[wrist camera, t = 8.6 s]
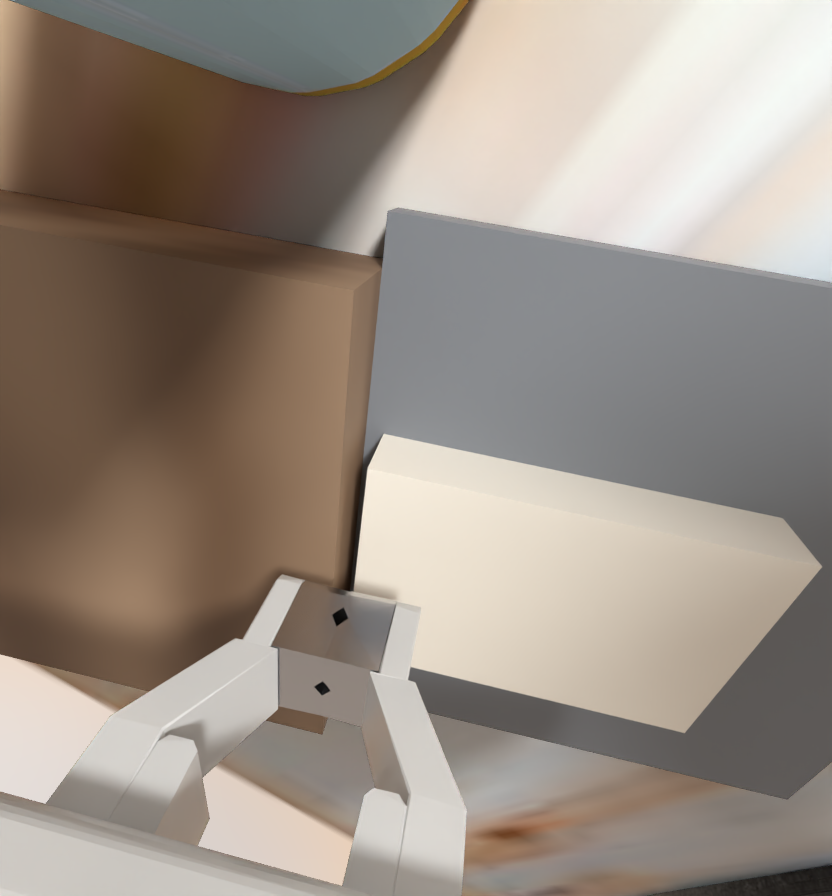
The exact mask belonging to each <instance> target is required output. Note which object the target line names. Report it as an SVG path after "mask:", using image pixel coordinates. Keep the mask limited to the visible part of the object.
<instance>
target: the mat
mask: <svg viewBox="0 0 832 896" xmlns="http://www.w3.org/2000/svg"><path fill="white" fill-rule="evenodd" d="M383 434H387V435H392V436H396V437H401V438H406V439H411V440H415V441H420V442H425V443H429V444H434V445H439V446H444V447H448V448H453V449H458V450H463V451H467V452H472V453H477V454H482V455H486V456H491V457H496V458H500V459H505V460H510V461H515V462H519V463H524V464H529V465H534V466H538V467H543V468H548V469H553V470H557V471H562V472H567V473H571V474H576V475H581V476H586V477H590V478H595V479H600V480H605V481H609V482H614V483H619V484H624V485H628V486H633V487H638V488H643V489H647V490H652V491H657V492H661V493H666V494H671V495H676V496H680V497H685V498H690V499H695V500H699V501H704V502H709V503H714V504H718V505H723V506H728V507H732V508H737V509H742V510H747V511H751V512H756V513H761V514H766V515H770V516H775V517H780V518H783V519H784V520H785V521H786V523H787V524H788V525H789V526H790V528H791V529H792V530H793V531H794V532H795V534H796V535H797V536H798V537H799V539H800V540H801V541H802V542H803V544H804V545H805V546H806V547H807V548H808V550H809V551H810V552H811V553H812V555H813V556H814V557H815V558H816V560H817V561H818V562H819V563H820V564H821V566H822V568H821V569H820V570H819V571H818V573H817V574H816V575H815V576H814V577H813V579H812V580H811V581H810V582H809V583H808V585H807V586H806V587H805V588H804V589H803V591H802V592H801V593H800V594H799V596H798V597H797V598H796V599H795V600H794V602H793V603H792V604H791V605H790V606H789V608H788V609H787V610H786V611H785V612H784V614H783V615H782V616H781V617H780V618H779V620H778V621H777V622H776V623H775V625H774V626H773V627H772V628H771V629H770V631H769V632H768V633H767V634H766V635H765V637H764V638H763V639H762V640H761V641H760V643H759V644H758V645H757V646H756V647H755V649H754V650H753V651H752V652H751V654H750V655H749V656H748V657H747V658H746V660H745V661H744V662H743V663H742V664H741V666H740V667H739V668H738V669H737V670H736V672H735V673H734V674H733V675H732V676H731V678H730V679H729V680H728V681H727V683H726V684H725V685H724V686H723V687H722V689H721V690H720V691H719V692H718V693H717V695H716V696H715V697H714V698H713V699H712V701H711V702H710V703H709V704H708V705H707V707H706V708H705V709H704V710H703V711H702V713H701V714H700V715H699V716H698V718H697V719H696V720H695V721H694V722H693V724H692V725H691V726H690V727H689V728H688V730H687V731H686V732H685V733H682V732H678V731H674V730H670V729H666V728H662V727H658V726H653V725H649V724H645V723H641V722H637V721H633V720H629V719H624V718H620V717H616V716H612V715H608V714H604V713H600V712H595V711H591V710H587V709H583V708H579V707H575V706H570V705H566V704H562V703H558V702H554V701H550V700H546V699H541V698H537V697H533V696H529V695H525V694H521V693H517V692H512V691H508V690H504V689H500V688H496V687H492V686H488V685H483V684H479V683H475V682H471V681H467V680H463V679H459V678H454V677H450V676H446V675H442V674H438V673H434V672H429V671H425V670H421V669H417V668H413V667H410V672H409V677H408V680H409V681H412V682H415V683H416V686H417V688H418V690H419V693H420V695H421V698H422V700H423V703H424V705H425V708H426V710H427V712H428V713H432V714H437V715H441V716H445V717H449V718H453V719H457V720H461V721H465V722H470V723H474V724H478V725H482V726H486V727H490V728H494V729H498V730H503V731H507V732H511V733H515V734H519V735H523V736H527V737H531V738H536V739H540V740H544V741H548V742H552V743H556V744H560V745H565V746H569V747H573V748H577V749H581V750H585V751H589V752H593V753H598V754H602V755H606V756H610V757H614V758H618V759H622V760H626V761H631V762H635V763H639V764H643V765H647V766H651V767H655V768H659V769H664V770H668V771H672V772H676V773H680V774H684V775H688V776H692V777H697V778H701V779H705V780H709V781H713V782H717V783H721V784H725V785H730V786H734V787H738V788H742V789H746V790H750V791H754V792H758V793H763V794H767V795H771V796H775V797H779V798H783V799H788V798H790V797H791V796H792V795H793V794H794V793H795V792H797V791H798V790H799V789H800V788H801V787H803V786H804V785H805V784H806V783H807V782H808V781H810V780H811V779H812V778H813V777H814V776H816V775H817V774H818V773H819V772H820V771H821V770H823V769H824V768H825V767H826V766H827V765H829V764H830V763H831V762H832V283H830V282H825V281H819V280H813V279H807V278H801V277H796V276H790V275H784V274H778V273H772V272H767V271H761V270H755V269H749V268H744V267H738V266H732V265H726V264H720V263H715V262H709V261H703V260H697V259H692V258H686V257H680V256H674V255H668V254H663V253H657V252H651V251H645V250H640V249H634V248H628V247H622V246H616V245H611V244H605V243H599V242H593V241H587V240H582V239H576V238H570V237H564V236H559V235H553V234H547V233H541V232H535V231H530V230H524V229H518V228H512V227H507V226H501V225H495V224H489V223H483V222H478V221H472V220H466V219H460V218H454V217H449V216H443V215H437V214H431V213H426V212H420V211H414V210H408V209H402V208H396V209H393V210H390V211H388V213H387V223H386V233H385V244H384V254H383V264H382V274H381V284H380V294H379V304H378V314H377V324H376V334H375V345H374V355H373V365H372V375H371V385H370V395H369V405H368V415H367V425H366V435H365V446H364V456H363V466H362V476H361V486H360V496H359V506H358V516H357V526H356V536H355V547H354V557H353V567H352V577H351V587H350V592H351V591H353V592H354V583H355V574H356V565H357V557H358V548H359V539H360V531H361V522H362V513H363V504H364V496H365V487H366V478H367V469H368V466H369V464H370V462H371V460H372V458H373V456H374V453H375V451H376V449H377V447H378V445H379V443H380V440H381V438H382V436H383Z"/></svg>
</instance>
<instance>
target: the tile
mask: <svg viewBox="0 0 832 896" xmlns="http://www.w3.org/2000/svg"><path fill="white" fill-rule="evenodd" d="M821 568H822V566H821V564H820V563H819V562H818V561H817V560H816V558H815V557H814V556H813V555H812V553H811V552H810V551H809V550H808V548H807V547H806V546H805V545H804V544H803V542H802V541H801V540H800V539H799V537H798V536H797V535H796V534H795V532H794V531H793V530H792V529H791V528H790V526H789V525H788V524H787V523H786V521H785V520H784V519H783V518H780V517H775V516H770V515H766V514H761V513H756V512H751V511H747V510H742V509H737V508H732V507H728V506H723V505H718V504H714V503H709V502H704V501H699V500H695V499H690V498H685V497H680V496H676V495H671V494H666V493H661V492H657V491H652V490H647V489H643V488H638V487H633V486H628V485H624V484H619V483H614V482H609V481H605V480H600V479H595V478H590V477H586V476H581V475H576V474H571V473H567V472H562V471H557V470H553V469H548V468H543V467H538V466H534V465H529V464H524V463H519V462H515V461H510V460H505V459H500V458H496V457H491V456H486V455H482V454H477V453H472V452H467V451H463V450H458V449H453V448H448V447H444V446H439V445H434V444H429V443H425V442H420V441H415V440H411V439H406V438H401V437H396V436H392V435H387V434H383V436H382V438H381V440H380V443H379V445H378V447H377V449H376V451H375V453H374V456H373V458H372V460H371V462H370V464H369V466H368V469H367V478H366V487H365V496H364V504H363V513H362V522H361V531H360V539H359V548H358V557H357V565H356V574H355V583H354V592H358V593H362V594H367V595H371V596H376V597H380V598H385V599H389V600H394V601H397V602H401V603H405V604H409V605H414V606H418V607H421V614H420V620H419V625H418V630H417V635H416V640H415V646H414V651H413V656H412V661H411V666H410V667H413V668H417V669H421V670H425V671H429V672H434V673H438V674H442V675H446V676H450V677H454V678H459V679H463V680H467V681H471V682H475V683H479V684H483V685H488V686H492V687H496V688H500V689H504V690H508V691H512V692H517V693H521V694H525V695H529V696H533V697H537V698H541V699H546V700H550V701H554V702H558V703H562V704H566V705H570V706H575V707H579V708H583V709H587V710H591V711H595V712H600V713H604V714H608V715H612V716H616V717H620V718H624V719H629V720H633V721H637V722H641V723H645V724H649V725H653V726H658V727H662V728H666V729H670V730H674V731H678V732H682V733H685V732H686V731H687V730H688V728H689V727H690V726H691V725H692V724H693V722H694V721H695V720H696V719H697V718H698V716H699V715H700V714H701V713H702V711H703V710H704V709H705V708H706V707H707V705H708V704H709V703H710V702H711V701H712V699H713V698H714V697H715V696H716V695H717V693H718V692H719V691H720V690H721V689H722V687H723V686H724V685H725V684H726V683H727V681H728V680H729V679H730V678H731V676H732V675H733V674H734V673H735V672H736V670H737V669H738V668H739V667H740V666H741V664H742V663H743V662H744V661H745V660H746V658H747V657H748V656H749V655H750V654H751V652H752V651H753V650H754V649H755V647H756V646H757V645H758V644H759V643H760V641H761V640H762V639H763V638H764V637H765V635H766V634H767V633H768V632H769V631H770V629H771V628H772V627H773V626H774V625H775V623H776V622H777V621H778V620H779V618H780V617H781V616H782V615H783V614H784V612H785V611H786V610H787V609H788V608H789V606H790V605H791V604H792V603H793V602H794V600H795V599H796V598H797V597H798V596H799V594H800V593H801V592H802V591H803V589H804V588H805V587H806V586H807V585H808V583H809V582H810V581H811V580H812V579H813V577H814V576H815V575H816V574H817V573H818V571H819V570H820V569H821Z"/></svg>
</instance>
